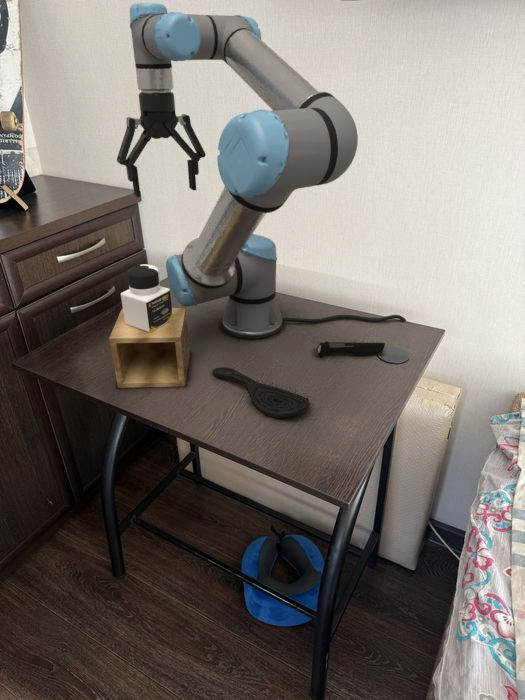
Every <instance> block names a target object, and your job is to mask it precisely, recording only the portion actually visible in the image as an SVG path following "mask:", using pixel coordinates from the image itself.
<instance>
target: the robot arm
mask: <svg viewBox="0 0 525 700" xmlns="http://www.w3.org/2000/svg"><path fill="white" fill-rule="evenodd" d="M129 28H130V32H131V38H132V49H133V57H134V64H135V65H134V66H135V73H136V84H137V89H138V90H139V91H141V92H139V93H138V103H139V112H140V117H139V118H137V117H135V118H134V117H131V116H127V117H126V128H125V132H124V135H123V138H122V141H121V145H120V148H119V150H118V154H117V157H116V162H117V163H118V164H119V165H121V166H125V170H126V175H127V180H128V181H129V182H130V183H132V188H133V195H134V196H135V197H136V198H141V197H142V196H141V188H140V179H139V172H138V166H136V165H135V163H137V160H138V159H139V157H140V156H141V154H142V152H143V151H144V149H145V148H146V146H147V144H148V143H149V142H150V141H151V140H152V139H154V140H160V139H161V138H162V139H169V138H170V137H171V138H172V139H173V140H174V141H175V142H176V143H177V145H178V146H179V147H180V148H181V149H182V151H184V152H185V154H186V155H187V156H188V157H189V158H190V159H187V173H188V187H189V189H190V190H192V191H197V178H196V176H198V175H199V173H200V170H199V162H200V161H201V159H202V158H205V157H206V154H207V153H206V151H205V150H204V148H203V146H202V144H201V142H200V140H199V138H198V136H197V134H196V132H195V130H194V128H193V126H192V122H191V117H190V115H189V114H186V113H182V114H181V115H177V113H176V101H175V94H174V92H172V91H173V89H174V88H175V87H174V77H173V64H172V61H173V62H185V61H223V62H224V63H225V64H226V65H228V67H230V68H231V70H233V72H234V73H235V74H236V75H237V76H238V77H239V78H240V79H241V80H242V81H243V82H244V83H245V84H246V85H247V86H248V87H249V88H250V89H251V90H252V91H253V92H254V93H255V94H256V95H257V96H258V97H259V98H260V99H261V100H262V101H263V103H265V104H266V105H267V106H268V108H270V109H271V110H269V109H256V110H255V109H254V110H253V111H250V112H243V113H239V114H236V115H235V116H233V117H232V118H231V119H230V120H229V121H228V122H227V123H226V125H225V126H224V128H223V129H222V131H221V134H220V137H219V141H218V146H217V149H218V151H219V154H218V155H217V158H216V159H217V169H218V173H219V176H220V179H221V181H222V183H223V185H224V187H223V188H222V191H221V192H220V194H219V197H218V199H217V201H216V202H215V205H214V206H213V208H212V211H211V212H210V215H209V216H208V218H207V221H206V222H205V224H204V226H203V228H202V230H201V232H200V234H199V236H198V237H197V238H194V239H192V240H191V241H189V242H188V244H187V245H186V246H185V248H184V250H183V252H182V253H180V254H173V255H171V256H169V257H168V258H167V259H166V262H165V263H166V264H165V268H166V269H165V270H166V276H167V279H168V283H169V286H170V290H171V292H172V294H173V296H174V298H175V300H176V301H177V302H178V303H179V305H181V306H182V307H184V308H187V307H192V306H194V307H195V306H196V307H197V306H198V305H199V304H204V303H207V302H212V301H216V300H219V299H222V298H227V297H228V300H227V302H226V306H225V309H224V312H223V316H222V328H223V330H224V331H225V332H226V333H227V334H229V335H230V336H233V337H236V338H239V339H245V340H259V339H266V338H269V337H273V336H274V335H276V334H277V333H279V332H280V331H281V330H282V327H283V322H285V323H286V322H289V323H306V324H314V323H315V324H319V323H325V322H330V321H334V320H339V319H349V320H350V319H351V320H357V321H358V320H360V321H363V322H364V321H365V322H375V323H376V322H379V323H381V322H385V321H389V320H395V319H398V320H400V321H401V322H403V323H405V322H407V319H406V318H405V317H403V316H402V315H399V314H391V315H386V316H383V317H370V316H361V315H355V314H336V315H331V316H327V317H321V318H304V317H303V318H301V317H283V316H282V313H281V309H280V306H279V304H278V301H277V298H276V293H277V292H276V291H277V261H278V257H277V256H278V255H277V245H276V243H275V241H273V240H272V239H271V238H268V237H266V236H264V235H260V234H254V232H255V231H256V230H257V228H258V227H259V225H260V224H261V222H262V221H263V219H264V218H265V217H266V215H267V214H270V213H274V212H276V211H278V210H279V209H281V208H282V207H283V206H284V204H285V203H286V202H287V200H288V199H289V198H290V196H291V195H292V193H293V192H295V191H296V190H298V189H305V188H310V187H311V188H312V187H317V186H323V185H328V184H330V183H332V182H334V181H336V180H338V179H339V178H341V176H343V175H344V173H346V172H347V170H348V169H349V168H350V166H351V165H352V163H353V161H354V159H355V157H356V153H357V150H358V143H359V142H358V141H359V135H358V130H357V129H358V128H357V125H356V123H355V120H354V118H353V116H352V114H351V112H349V111H350V110H348V109H347V108H346V106H345V105H344V104H343V103H342V102H341V101H340V100H338V99H337V97H335V96H334V95H333V94H332V93H330V92H327V91H319V90H318V89H316V88H315V86H313V85H312V84H311V83H310V82H308V80H306V78H304V77H303V76H302V75H301V74H300V73H299V72H298V71H296V70H295V69H294V68H293V67H292V66H291V65H290V64H289V63H288V62H287V61H286V60H284V59H283V58H282V57H281V56H280V55H279V54H277V52H275V50H273V49H272V48H271V47H270V46H268V44H266V42H264V41H263V40H262V32H261V29H260V28H259V24H258V22H257V21H256V20H255V19H254V18H253V17H249V16H244V15H241V14H235V15H223V14H222V15H219V14H215V15H214V14H193V13H183V12H178V11H177V12H175V11H171V12H168V9H167V6H165V5H164V4H163V3H158V2H157V3H154V2H153V3H152V2H139V3H132V4H131V5H130V7H129ZM178 123H179V124H180V126H182V127H183V130H184V131H185V133H186V136H187V137H188V139H189V141H190V143H191V145H192V147H193V149H194V150H195V151H194V150H193V149H192V148H191V146H189V144H188V143H187V141H185V140H184V138H183V137H182V136H181V134H180V133H179V132H178V131H177V130H176V127H177V125H178ZM139 125H140V126H141V128H142V129H143V131H142V132H141V134H140V137H139V139H137V142H136V143H135V145H134V146H133V148H132V149H131V151H130V148H131V145H132V143H133V139H134V136H135V133H136V130H137V129H138V128H139ZM129 152H130V153H129Z"/></svg>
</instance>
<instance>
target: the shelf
mask: <svg viewBox="0 0 525 700" xmlns="http://www.w3.org/2000/svg"><path fill="white" fill-rule="evenodd" d="M172 314H173V319H172V320H171V321H169V322H167V323H166V324H164V325H162V326H161V327H159V328H157V329H156V330H154V331H152V332H147V331H144V330H141V329H138V328H135V327H133V326H130V325H127V324H125V319H124V313H123V308H121V310H120V312H119V314H118V317H117V319H116V320H115V324H114V326H113V329H112V331H111V333H110V336H109V337H108V341H109V346H110V351H111V356H112V362H113V367H114V368H113V369H114V373H115V378H116V384H117V388H118V389H128V388H129V389H133V388H134V389H135V388H136V389H137V388H169V387H170V388H173V387H176V388H177V387H186V383H187V376H188V369H189V364H190V363H189V362H190V357H191V356H190V355H191V352H190V351H191V350H190V341H189V340H190V339H189V328H188V316H187V307H172Z"/></svg>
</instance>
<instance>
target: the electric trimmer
mask: <svg viewBox="0 0 525 700" xmlns="http://www.w3.org/2000/svg"><path fill="white" fill-rule="evenodd" d="M385 347H386V343H385V342H359V341H358V342H356V341H354V342H353V341H351V342H350V341H349V342H347V341H344V342H343V341H339V342H337V341H333V342H332V341H331V342H330V341H327V340H326V341H324V342H320V343H319V344H318V345H317V347H316V354H317V357H320V358H322V357H324V356H325V355H327V356H328V355H330V356H331V355H353V356H367V355H376V354H381V353H383V351H384V349H385Z"/></svg>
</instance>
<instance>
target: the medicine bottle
mask: <svg viewBox="0 0 525 700" xmlns="http://www.w3.org/2000/svg"><path fill="white" fill-rule="evenodd" d="M126 274H127V275H126V276H127V280H128V282H127V283H128V289H126V290H124V291H122V292H120V300H121V306H122V309H123V313H124V319H125V324H127V325H130V326H133V327H135V328H138V329H141V330H144V331H147V332H152V331H154V330H156V329H157V328H159V327H161V326H162V325H164V324H166V323H167V322H169V321H171V320H172V319H173V314H172V308H173V307H172V306H173V305H172V304H173V303H172V296H171V288H169V287H165V286H162V285H161V281H160V270H159V268H158V267H157V266H155V265H152V264H146V263H145V264H144V263H143V264H136V265H134V266H132V267H130V268H129V269H127V272H126Z"/></svg>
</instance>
